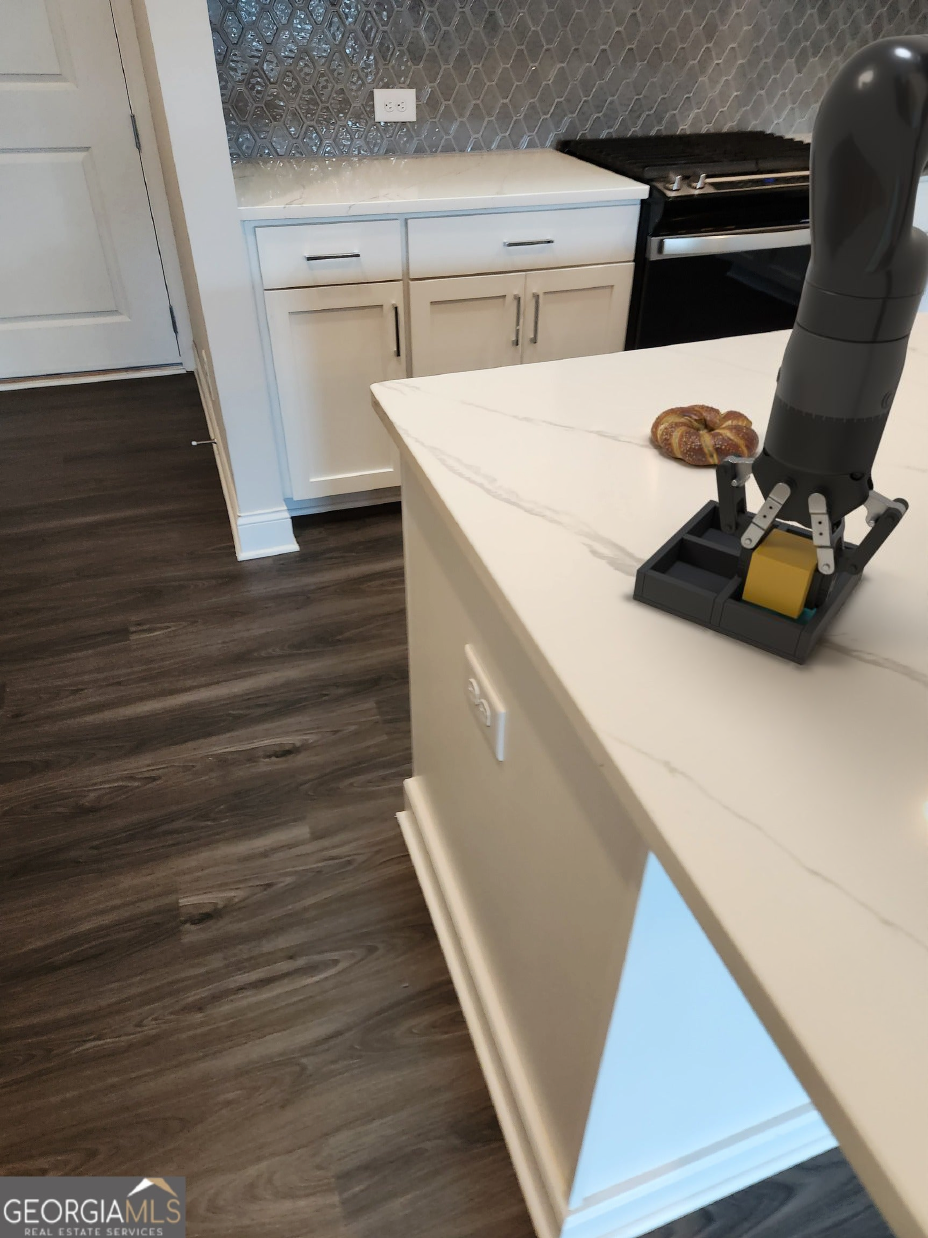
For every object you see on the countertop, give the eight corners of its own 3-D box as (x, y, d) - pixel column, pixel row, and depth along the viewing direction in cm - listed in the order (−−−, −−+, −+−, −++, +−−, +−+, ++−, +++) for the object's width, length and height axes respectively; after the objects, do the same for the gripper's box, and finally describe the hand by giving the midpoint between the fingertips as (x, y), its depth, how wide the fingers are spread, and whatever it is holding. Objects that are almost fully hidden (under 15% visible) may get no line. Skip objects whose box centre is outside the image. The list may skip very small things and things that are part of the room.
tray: (861, 577, 73) (870, 548, 71) (802, 665, 64) (811, 635, 62) (705, 525, 81) (710, 498, 79) (632, 598, 71) (636, 569, 70)
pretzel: (633, 454, 93) (637, 423, 91) (668, 418, 100) (672, 389, 98) (739, 479, 88) (746, 447, 86) (767, 440, 95) (774, 410, 93)
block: (816, 592, 67) (830, 545, 64) (796, 619, 64) (810, 572, 62) (762, 573, 69) (774, 527, 67) (741, 599, 67) (752, 552, 64)
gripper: (960, 397, 55) (884, 602, 66) (754, 353, 62) (715, 544, 73) (932, 437, 51) (855, 651, 61) (712, 385, 58) (677, 584, 68)
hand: (779, 592), depth 67 cm, fingers closed on block, 4 cm apart
